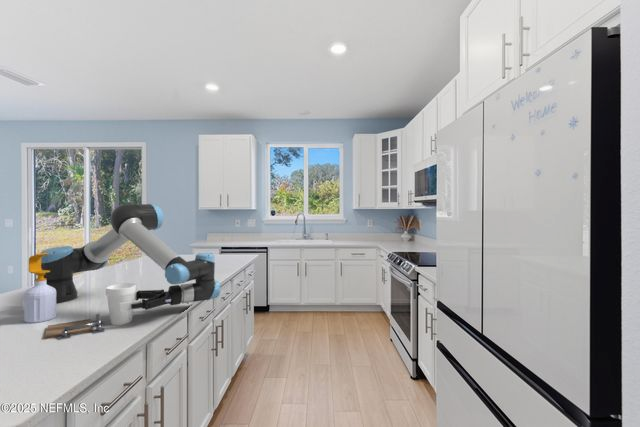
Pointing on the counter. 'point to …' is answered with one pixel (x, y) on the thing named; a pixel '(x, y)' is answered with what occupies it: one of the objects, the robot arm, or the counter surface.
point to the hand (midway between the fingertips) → (117, 302)
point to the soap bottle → (39, 295)
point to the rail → (95, 323)
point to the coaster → (58, 328)
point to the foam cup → (117, 296)
